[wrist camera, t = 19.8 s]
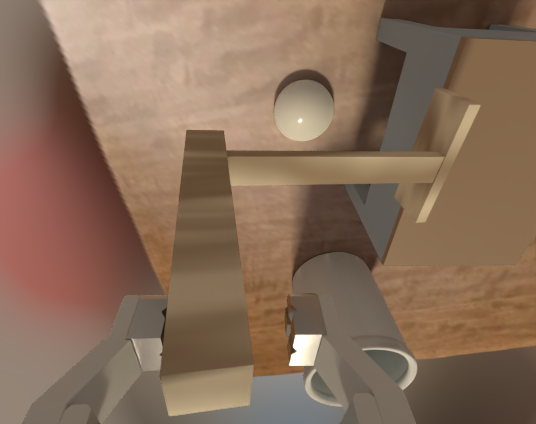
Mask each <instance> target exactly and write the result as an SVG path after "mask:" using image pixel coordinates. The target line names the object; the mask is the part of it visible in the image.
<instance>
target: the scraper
mask: <svg viewBox="0 0 536 424" xmlns="http://www.w3.org/2000/svg"><path fill="white" fill-rule="evenodd" d="M480 106H481V105H480V104H478V103H476V102H474V101H471V100H469V99H467V98H465V97H463V96H461V95H459V94H456V93H454V92H452V91H450V90H448V89H445V88H435V91H434V94H433V96H432V99H431V101H430V104H429V107H428V109H427V112H426V115H425V117H424V120H423V122H422V125H421V128H420V130H419V133H418V136H417V138H416V141H415V143H414V146H413V149H412V151H411V152H410V151H226V144H225V137H224V131H217V130H187V131H186V140H185V149H184V158H183V167H182V176H181V185H180V195H179V204H178V213H177V222H176V231H175V240H174V249H173V258H172V267H171V276H170V285H169V294H168V303H167V312H166V322H165V331H164V340H163V349H162V358H161V367H160V380H161V384H162V388H163V392H164V397H165V401H166V405H167V409H168V413H169V416H174V415H182V414H189V413H196V412H203V411H210V410H218V409H224V408H232V407H239V406H246V405H250V396H251V387H252V377H253V368H254V362H253V354H252V346H251V339H250V331H249V323H248V315H247V308H246V300H245V292H244V284H243V277H242V269H241V261H240V253H239V245H238V238H237V230H236V222H235V214H234V207H233V199H232V191H231V186H243V185H313V184H382V183H399V185H398V188H397V191H396V193H395V196H394V198H395V199H396V200H397V201H398V203H399V204H400V205H401V206H402V207H403V208H404V210H405V211H406V212H407V213H408V214H409V215H410V217H411V218H412V219H413V220H414V221H415V222H416V223H422V222H426V219H427V217H428V215H429V213H430V211H431V209H432V207H433V205H434V203H435V201H436V198H437V196H438V194H439V192H440V190H441V188H442V186H443V184H444V182H445V180H446V177H447V175H448V173H449V171H450V169H451V167H452V165H453V163H454V161H455V159H456V156H457V154H458V152H459V150H460V148H461V146H462V144H463V142H464V140H465V138H466V136H467V133H468V131H469V129H470V127H471V125H472V123H473V121H474V119H475V117H476V115H477V112H478V110H479V108H480Z"/></svg>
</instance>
